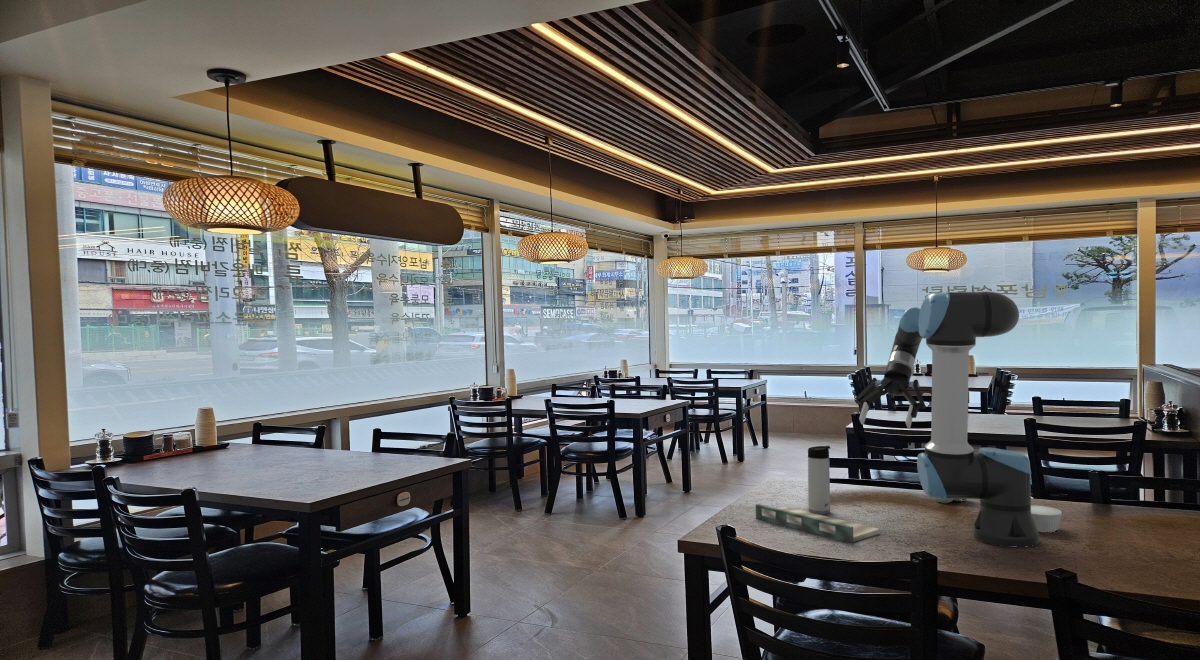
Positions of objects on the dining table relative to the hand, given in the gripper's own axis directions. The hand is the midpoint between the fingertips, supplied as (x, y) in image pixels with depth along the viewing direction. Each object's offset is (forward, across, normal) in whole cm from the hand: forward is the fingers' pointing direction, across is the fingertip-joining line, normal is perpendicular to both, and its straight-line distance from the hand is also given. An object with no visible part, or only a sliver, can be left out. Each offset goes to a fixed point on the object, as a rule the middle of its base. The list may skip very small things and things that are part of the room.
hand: (884, 423), depth 219 cm
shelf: (+37, +11, 0) cm, 38 cm away
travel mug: (+27, +16, -11) cm, 33 cm away
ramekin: (+14, -39, -24) cm, 48 cm away
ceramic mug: (+1, -12, -38) cm, 40 cm away
